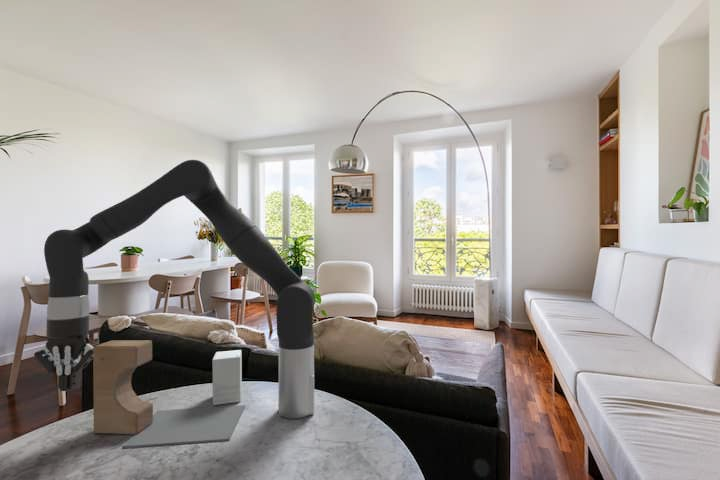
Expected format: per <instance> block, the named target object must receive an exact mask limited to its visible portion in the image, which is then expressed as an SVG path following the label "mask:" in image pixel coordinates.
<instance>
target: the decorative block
mask: <svg viewBox="0 0 720 480" xmlns="http://www.w3.org/2000/svg"><path fill="white" fill-rule="evenodd" d="M92 360H93V361H92V362H93V363H92V364H93V366H92V367H93V370H92V373H93V375H92V376H93V378H92V379H93V381H92V382H93V433H94V434H117V435H118V434H119V435H134V434H138V433H139V432H140V431H142V430H143V429H144V428H146V427H147V426H149V425H150V424H151V423H152V422H153V415H154V404H153V403H152V402H148V401H145V400H143V399H141V398H140V397H139V396H138V395H137V394H136V392H135V391H134V390H133V387H132V386H133V385H132V378H133V377H132V376H133V373H134V372H135V371H136V369H137V368H138V367H140V366H142V365H145V364H146V363H149V362H151V361H152V360H153V341H152V340H149V339H146V340H144V339H143V340H137V339H136V340H135V339H134V340H131V339H130V340H127V339H125V340H124V339H123V340H122V339H121V340H120V339H119V340H118V339H117V340H115V339H113V340H109V341H107V342H102V343H99V344H97V345H94V346H93V359H92Z"/></svg>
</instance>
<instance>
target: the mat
mask: <svg viewBox="0 0 720 480" xmlns="http://www.w3.org/2000/svg"><path fill="white" fill-rule="evenodd" d="M245 406H246V405H245V404H244V405H231V406H230V405H225V406H213V407H211V406H210V407H195V408H193V407H192V408H178V409H177V408H176V409H163V410H162V409H161V410H157V411H156V412H155V413H153V422H152V423H151V424H150V425H149V426H147V427H146V428H144V429H143V430H142V431H140V432H139V433H138V434H132V436H131V437H130V438H129V439H128V440H127V441H126V442H125V443H124V444H123V445H122V449H127V448H128V449H129V448H130V449H131V448H141V447H142V448H143V447H144V448H145V447H158V446H169V445H170V446H171V445H185V444H196V443H197V444H199V443H211V442H212V443H213V442H226V441H230V440H231V437H232V436H233V434H234V431H235V430H236V427H237V425H238V423H239V420H240V418H241V416H242V414H243V412H244V410H245Z"/></svg>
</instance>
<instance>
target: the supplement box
mask: <svg viewBox="0 0 720 480" xmlns="http://www.w3.org/2000/svg"><path fill="white" fill-rule="evenodd" d="M242 354H243V353H242V349H234V350H225V351H224V350H223V351H216V352H215V353H214V356H213V358H212V360H211V361H212V406H219V405H225V404H232V403H233V404H234V403H240V402H241V398H242V392H243V385H242V383H243V381H242V379H243V378H242V377H243V375H242V373H243V372H242V369H243V368H242V366H243V365H242V364H243V363H242V361H243V360H242Z"/></svg>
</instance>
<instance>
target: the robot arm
mask: <svg viewBox="0 0 720 480" xmlns="http://www.w3.org/2000/svg"><path fill="white" fill-rule="evenodd" d="M181 197H185V198H186V199H187V200H189V202H190V203H191V204H193V206H195V207H196V208H197V209H198V210H199V211H200V212H201V213H202V214H203V215H204V216H205V217H206V218H207V219H208V220H209V222H210V223H211V224H212V226H213V228H214V230H215V231H216V233H217V234H218V235H219V237H220V239H221V240H222V241H223V243H224V244H225V245H226V247H227V248H228V249H229V250H230V251H231V252H232V254H233V255H234V256H235V257H236V258H237V259H238V260H239V261H240V262H241V263H242V264H243V265H244V266H246V267H247V268H248V269H249V270H251V271H252V272H253V273H255V274H256V275H257V276H259V277H260V278H261V279H263V281H265V283H267V284H268V285H269V287H270V288H271V289H272V291H274V293H275V294H276V296H277V300H276V335H277V339H278V414H279V416H280V417H283V418H285V419H291V420H294V419H302V418H305V417H308V416H313V415H315V333H314V326H313V325H314V323H313V322H314V319H313V317H314V314H313V313H314V312H313V311H314V307H315V305H316V297H315V296H316V295H315V293H314V290H313V289H312V288H311V287H310V286H309V285H308V284H307V283H306V282H305V281H304V280H302V278H300V276H299V275H297V273H296V272H295V271H293V269H292V268H290V267H289V265H288V264H287V263H286V262H285V260H283V257H282V256H281V255H280V253H278V252H279V251H277V250H276V248H275V247H274V246H273V244H272V243H271V242H270V241H269V239H268V238H267V237H266V236H265V234H264V233H263V232H262V231H261V230H260V229H259V228H258V226H257V225H256V224H255V223H254V222H253V221H252V220H251V219H250V218H249V217H248V216H246V214H244V213H243V212H242V211H241V210H239V209H237V208H236V207H235V206H234V205H233V204H232V203H231V202H230V201H229V199H228V198H227V197H226V195H225V194H224V193H223V192H222V190H221V188H220V187H219V185H218V184H217V182H216V180H215V177H214V175H213V173H212V170H211V169H210V168H209V166H208V165H207V164H206V163H205V162H203V161H201V160H198V159H188V160H185V161H182V162H180V163H179V164H177V165H176V166H174V167H173V168H171V169H170V170H169V171H168V172H166V173H164V174H163V175H162V176H161V177H158V179H156V180H155V181H153V182H152V183H150V184H149V185H147V186H145V187H144V188H143V189H141V190H139V191H138V192H136V193H135V194H133V195H131V196H129V197H127V198H126V199H124V200H122V201H120V202H117V203H115V204H113V205H111V206H110V207H107V208H106V209H104V210H102V211H100V212H97V214H95V215H93V216H92V217H90V218H89V221H88V222H86V223H84V224H83V225H81V226H79V227H77V228H75V229H58V230H55V231H54V232H52V233H50V234H49V235H48V237H47V238H46V239H45V241H44V248H43V253H44V254H43V255H44V260H45V261H44V262H45V263H46V269H47V273H48V277H49V281H48V282H49V284H48V301H47V307H46V332H45V333H46V334H45V335H46V338H48V339H47V341H46V343H45V346H44V347H43V348H42V349H40V350H38V351H36V352H34V354H33V355H34V357H35V358H36V360H37V361H38V362H40V365H42V366H43V367H44V368H45V370H46V371H47V372H48V373H49V374H52V373H55V374H56V375H57V376H58V377H57V378H58V380H57V383H58V384H57V386H58V387H57V388H58V389H59V391H60V392H69V391H70V390H73V389H74V387H76V385H77V372H79V371H81V370H83V369H85V368H86V367H87V366H88V365H90V362H91V361H92V360H93V347H94V346H93V345H92V344H90V343H91V341H90V339H89V337H88V334H89V331H90V299H89V298H90V297H89V288H90V287H89V283H90V281H89V280H90V279H89V274H88V272H86V271H85V270H84V261H83V260H84V259H85V258H86V257H88V256H90V255H92V254H93V253H95V252H97V251H98V250H99V249H101V248H103V247H104V246H106V245H107V244H108V243H110V242H111V241H113V240H115V239H118V238H119V237H121V236H124V235H125V234H127V233H129V232H131V231H133V230H135V229H137V228H138V227H140V226H141V225H142V224H144V223H145V222H146V221H148V220H149V219H150V218H151V217H152V216H153V215H154V214H156V212H158V211H159V210H160V209H161V208H163V207H164V206H165V205H167V204H168V203H170V202H172V201H173V200H176V199H179V198H181ZM82 354H83V356H82V357H81V355H82Z"/></svg>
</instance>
